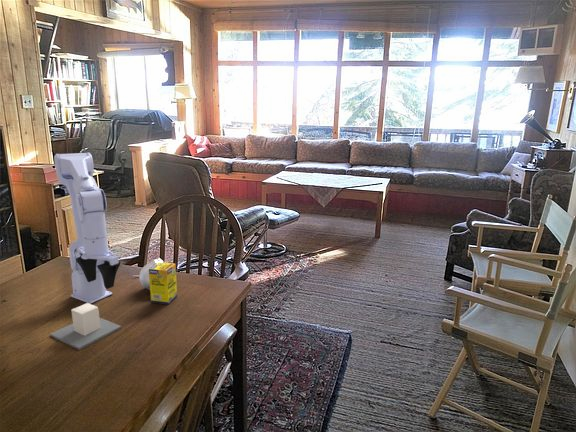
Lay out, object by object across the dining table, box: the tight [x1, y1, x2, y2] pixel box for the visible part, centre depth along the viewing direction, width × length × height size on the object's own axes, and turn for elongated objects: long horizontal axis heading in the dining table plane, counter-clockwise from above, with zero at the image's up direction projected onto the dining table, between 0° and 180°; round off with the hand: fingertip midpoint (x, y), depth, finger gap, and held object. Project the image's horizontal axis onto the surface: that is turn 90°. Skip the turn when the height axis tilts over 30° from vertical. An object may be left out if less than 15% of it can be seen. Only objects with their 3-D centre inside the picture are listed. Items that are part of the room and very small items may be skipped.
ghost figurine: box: [138, 258, 165, 291], centre depth 133 cm, size 9×9×10 cm
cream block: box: [71, 302, 101, 336], centre depth 108 cm, size 4×4×6 cm
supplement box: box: [149, 261, 178, 305], centre depth 126 cm, size 6×6×11 cm
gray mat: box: [49, 316, 122, 351], centre depth 108 cm, size 12×12×1 cm
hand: (100, 284), depth 113 cm, fingers open, 7 cm apart
